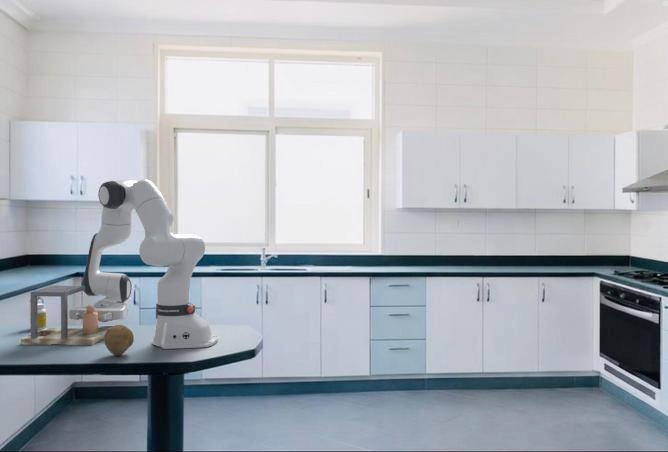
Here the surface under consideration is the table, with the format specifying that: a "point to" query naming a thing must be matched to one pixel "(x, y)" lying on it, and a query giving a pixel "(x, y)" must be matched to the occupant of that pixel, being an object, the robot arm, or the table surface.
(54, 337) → the birch board
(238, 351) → the table surface
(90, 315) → the terracotta bottle
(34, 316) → the tunnel roof
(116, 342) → the natural sponge
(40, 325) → the supplement bottle
